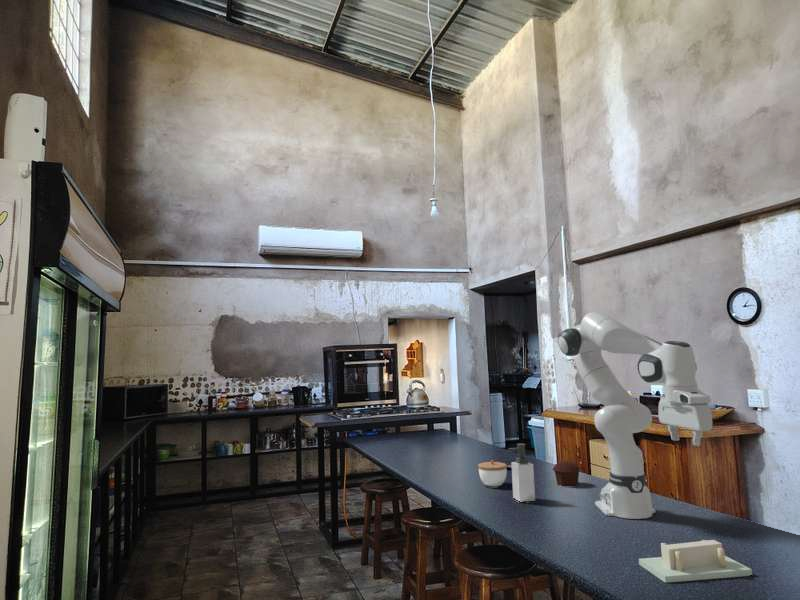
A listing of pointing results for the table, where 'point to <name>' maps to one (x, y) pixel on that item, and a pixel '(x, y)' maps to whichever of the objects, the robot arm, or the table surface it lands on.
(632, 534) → the table surface
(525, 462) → the soap dispenser
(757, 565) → the table surface
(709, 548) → the off-white rectangular block
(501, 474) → the lidded bowl
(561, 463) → the muffin
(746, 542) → the table surface
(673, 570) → the rack
